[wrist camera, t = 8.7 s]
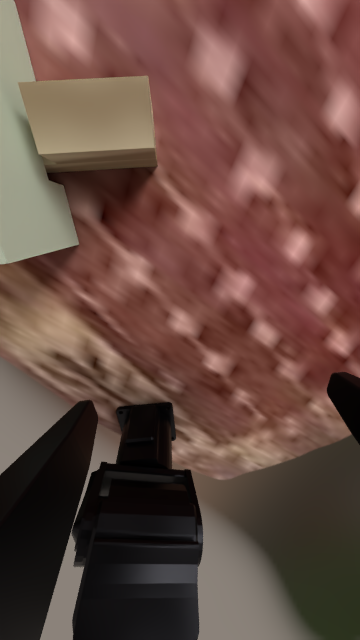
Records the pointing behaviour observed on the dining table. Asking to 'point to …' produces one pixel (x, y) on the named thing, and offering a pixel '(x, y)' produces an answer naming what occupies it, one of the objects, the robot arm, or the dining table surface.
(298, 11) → the dining table surface
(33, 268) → the dining table surface
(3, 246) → the pale green plank
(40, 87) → the birch rail
